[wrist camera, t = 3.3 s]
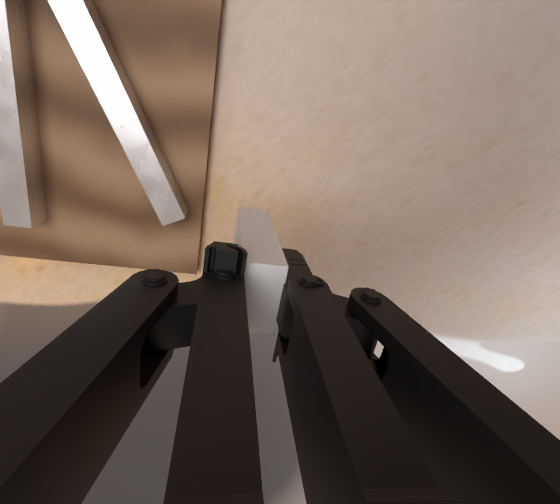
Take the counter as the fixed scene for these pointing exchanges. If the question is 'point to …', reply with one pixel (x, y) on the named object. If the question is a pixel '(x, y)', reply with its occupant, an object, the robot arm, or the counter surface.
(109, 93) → the tong arm
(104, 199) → the board
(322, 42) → the counter surface
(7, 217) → the bar
